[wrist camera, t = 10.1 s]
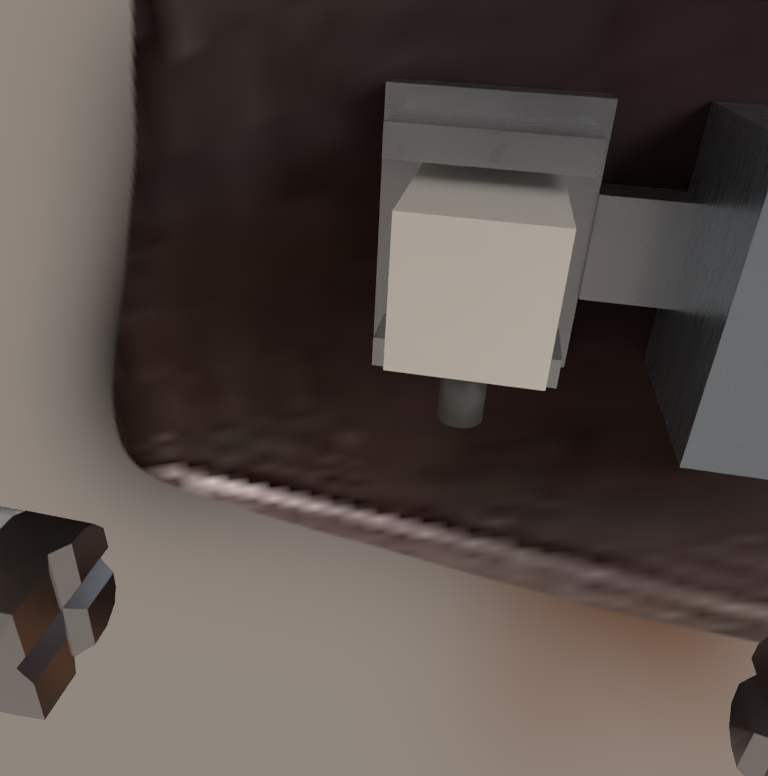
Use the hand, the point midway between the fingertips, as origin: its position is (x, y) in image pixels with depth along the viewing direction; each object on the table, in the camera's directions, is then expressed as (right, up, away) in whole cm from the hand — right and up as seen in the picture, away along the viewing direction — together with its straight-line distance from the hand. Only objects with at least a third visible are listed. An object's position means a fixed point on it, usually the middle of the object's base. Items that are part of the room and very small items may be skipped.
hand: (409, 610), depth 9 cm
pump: (+3, +8, +15) cm, 17 cm away
